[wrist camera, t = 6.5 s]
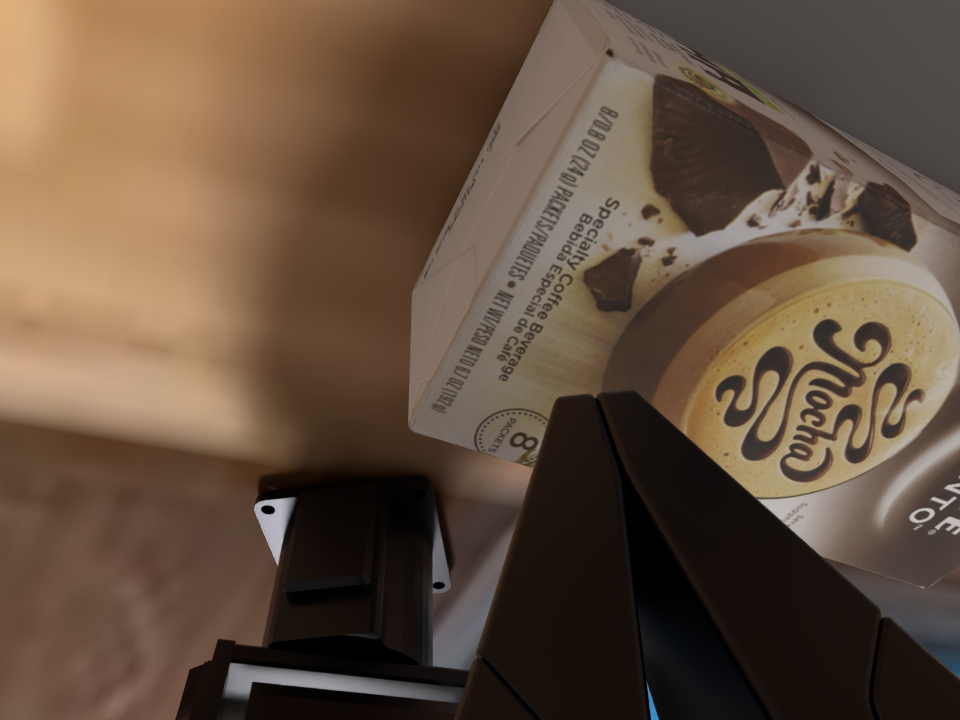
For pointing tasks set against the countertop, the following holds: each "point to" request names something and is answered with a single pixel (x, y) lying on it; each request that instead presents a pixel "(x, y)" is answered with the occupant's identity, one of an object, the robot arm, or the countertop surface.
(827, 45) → the mat
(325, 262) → the countertop surface
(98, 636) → the countertop surface
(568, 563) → the robot arm
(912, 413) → the coffee box
